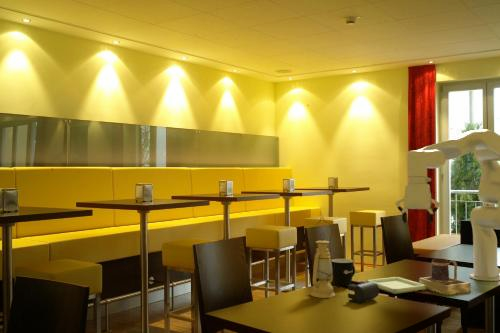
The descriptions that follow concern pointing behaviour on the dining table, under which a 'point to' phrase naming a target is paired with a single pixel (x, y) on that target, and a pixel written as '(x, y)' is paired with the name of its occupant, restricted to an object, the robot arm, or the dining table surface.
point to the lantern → (322, 270)
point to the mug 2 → (442, 271)
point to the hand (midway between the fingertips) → (417, 223)
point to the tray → (398, 285)
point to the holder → (446, 286)
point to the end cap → (363, 292)
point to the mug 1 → (342, 271)
